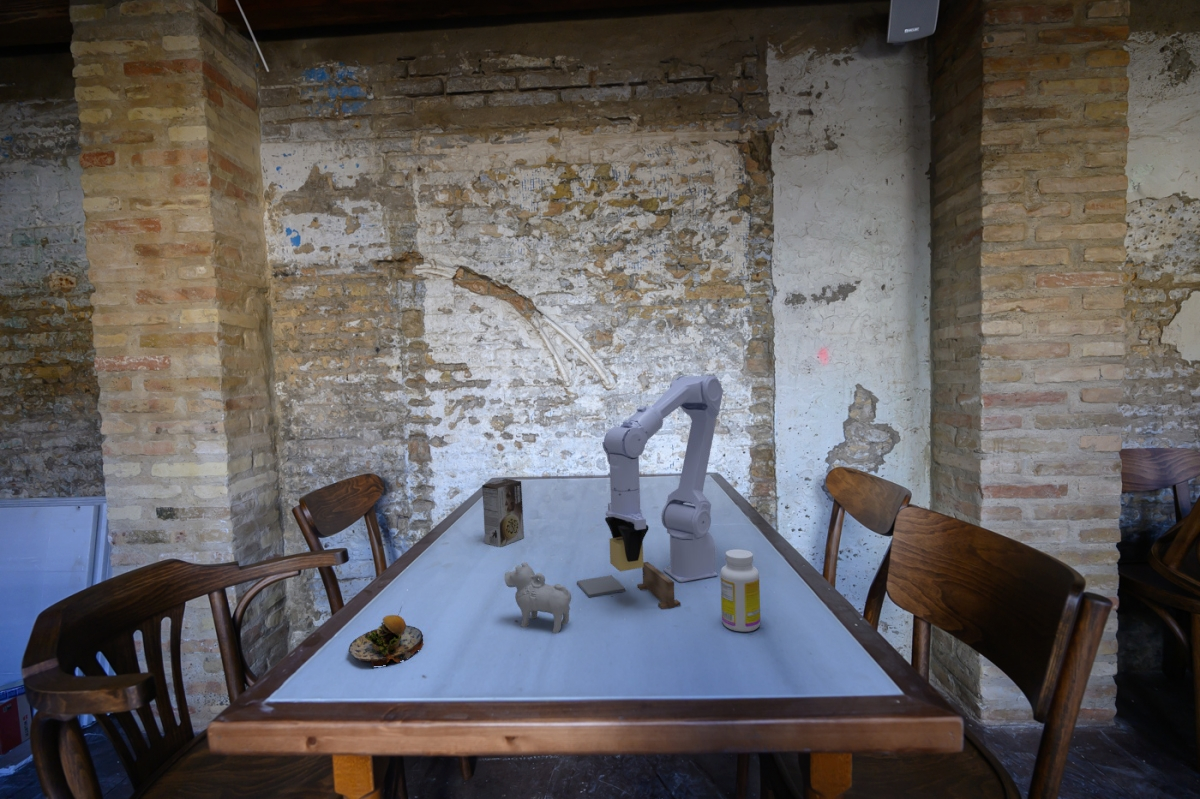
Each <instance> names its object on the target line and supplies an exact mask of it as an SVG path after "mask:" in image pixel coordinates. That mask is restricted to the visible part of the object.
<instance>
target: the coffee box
mask: <svg viewBox="0 0 1200 799" xmlns="http://www.w3.org/2000/svg"><path fill="white" fill-rule="evenodd" d="M481 488H482V505H483V508H482V509H483V526H484V528H483V529H484V544H486V545H489V544H490V546H493V545H494V546H493V547H498V548H503V547H505V546H507V545H510V544H513V543H515V542H517V541H519V540H522V539H524V538H525V532H524V527H525V526H524V509H523V493H522V489H523V488H522V481H521V480H517V479H516V480H515V479H508V478H504V479H501V480H500V479H499V480H496V481H492V482H489V483H488V482H487V483H484V484H482V487H481Z"/></svg>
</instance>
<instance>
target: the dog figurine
mask: <svg viewBox="0 0 1200 799" xmlns="http://www.w3.org/2000/svg"><path fill="white" fill-rule="evenodd" d="M514 569H515V570H513V571H507V572H505V573H504V582H505V585H506V587H508V588H516V592H515V597H514V598H515V602H516V605H517V607H519V609H520V612H521V614H522V615H521V616H522V621H521V624H520V627H521V628H523V629H524V628H527V627H528V626H529V624H530V622H529V619H534V620H535V619H536V618H538V613H539V612H540V613H541V612H542V613H547V614H551V615H552V616H553V629H552V633H553V634H558V633H559V632H561V626H562V625H565V624H568V623H569V622H570V610H571V607H570V603H571V601H572V594H571V591H569V590H568V589H567V588H566V586H564V585H562V584H560V583H555V584H554V585H551V584H547V583H546V578H545V575H544V574H543V573H540V572H538V573H535V571H534V570H533V568H532V567H531V566H530V565H529V563H527V562H525V561H524V562H522V563H521V565H516V566H515V568H514Z"/></svg>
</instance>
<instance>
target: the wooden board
mask: <svg viewBox="0 0 1200 799" xmlns="http://www.w3.org/2000/svg"><path fill="white" fill-rule="evenodd" d="M643 565H644V567H643V568H642V583H637V586H636V587H637V589H638V590H640V591H644V590H647V591H649V593H650V594H652V595H653V596H654V597H655V598H656V599H657V600H659V601H660V602H658V603H657V606H658V607H659V608H660V609H661V610H665V609H672V608H676V607H679V606H680V607H681V606H682V604H681V603H682V602H681V601H680V600H678V599H675V582H674V580H672V579H671V578H670V577H668V576H667V575H666V574H664V573H663V572H662V571H660V570H659V569H658V568H656V567H655V566H654V565H652V564H651V563H650V562H649V561H646V562H644V561H643Z"/></svg>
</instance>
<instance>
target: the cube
mask: <svg viewBox="0 0 1200 799" xmlns="http://www.w3.org/2000/svg"><path fill="white" fill-rule="evenodd" d="M608 540H609V558H610V559H609V562H610V563H609V564H611V565H612V566H613V567H614V568H616V569H617V570H618V571H619V572H625V571H630V570H636V569H643V567H644V565H643V562H644V541H643V542H642V546H641V550H640V555H639V559H638V561H632V562H628V561H627V558H626V553H625V546H624V541H623V538H622V537H617V538H613V537H612V538H609V539H608Z"/></svg>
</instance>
